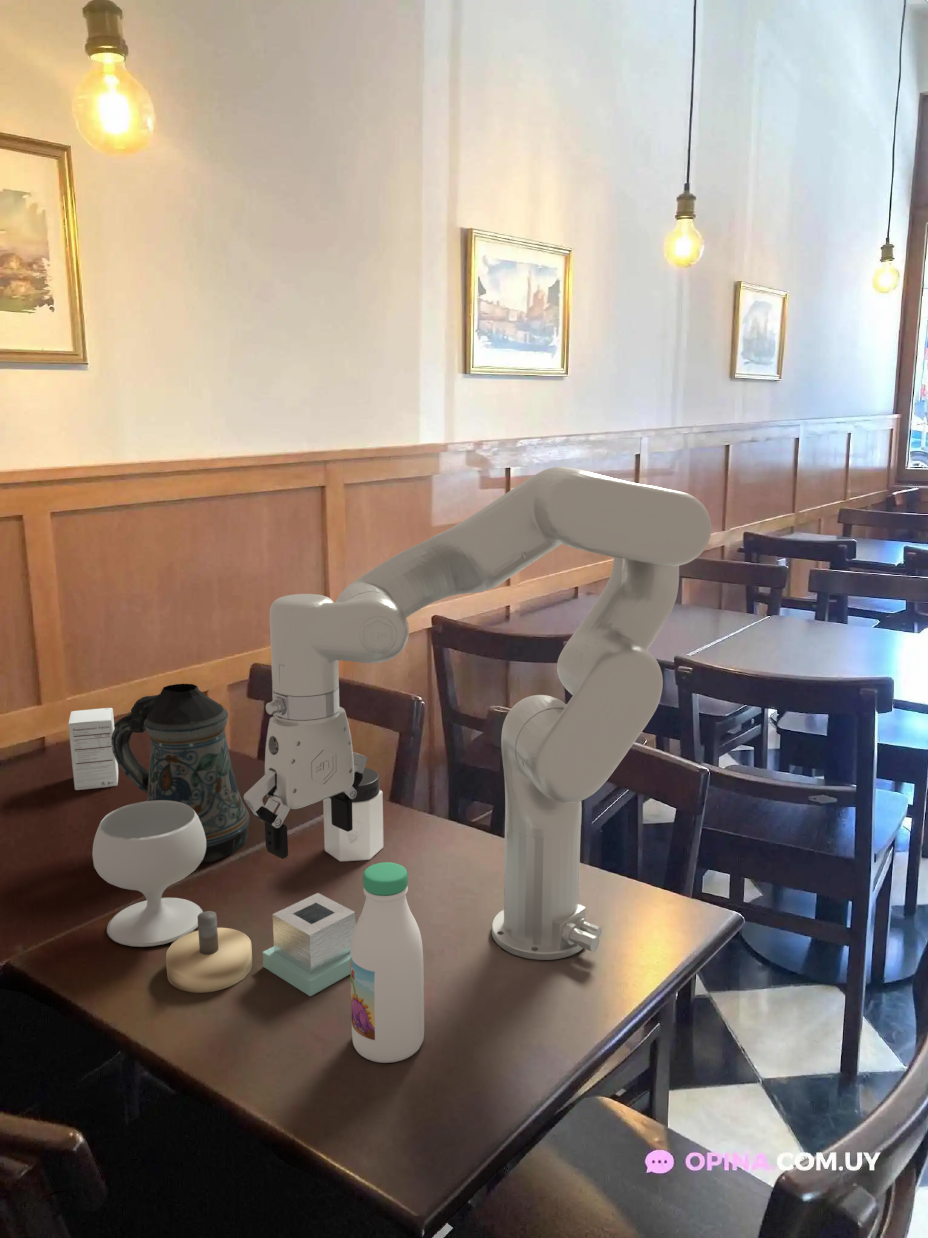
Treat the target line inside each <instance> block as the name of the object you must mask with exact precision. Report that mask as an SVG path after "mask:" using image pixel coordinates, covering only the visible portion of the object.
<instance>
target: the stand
mask: <svg viewBox="0 0 928 1238" xmlns="http://www.w3.org/2000/svg"><path fill="white" fill-rule="evenodd" d="M350 955H351V953H349V954H347V955H345V956H343V957H341V958H340V959H338V960H336V961H334V962H332V963H330V964H329V965H327V966H325V967H323V968H321V969H319V970H318V971H316V972H314V973H312V974H310V973H309V972H307V971H305V970H304V969H302V968H300V967H299V966H297V965H295V964H294V963H292V962H290V961H289V960H287V959H286V958H284V957H282V956H281V955H279V954H277V953H276V952H274V945H273V946H272V947H270V948H268V949H266V950H263V951H262V967H263V968H265V969H266V970H268V971H269V972H271V973H272V974H274V975H276V976H277V977H279V978H280V979H282V980H284V981H285V982H287V983H288V984H290V985H291V986H292V987H294V988H296V989H298V990H300V992H303V993H304V994H306V995H307V996H309V997H312V996H314V995H316V994H318V993H319V992H321V991H323V990H325V989H326V988H328V987H330V986H331V985H333V984H335V983H337V982H339V981H340V980H342V979H344V978H346V977H347V976H349V975H350Z"/></svg>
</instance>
